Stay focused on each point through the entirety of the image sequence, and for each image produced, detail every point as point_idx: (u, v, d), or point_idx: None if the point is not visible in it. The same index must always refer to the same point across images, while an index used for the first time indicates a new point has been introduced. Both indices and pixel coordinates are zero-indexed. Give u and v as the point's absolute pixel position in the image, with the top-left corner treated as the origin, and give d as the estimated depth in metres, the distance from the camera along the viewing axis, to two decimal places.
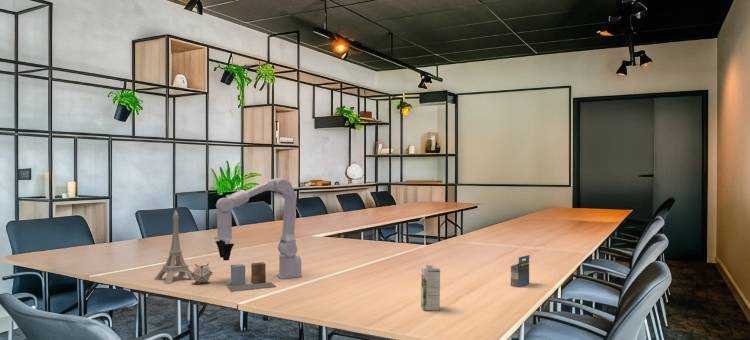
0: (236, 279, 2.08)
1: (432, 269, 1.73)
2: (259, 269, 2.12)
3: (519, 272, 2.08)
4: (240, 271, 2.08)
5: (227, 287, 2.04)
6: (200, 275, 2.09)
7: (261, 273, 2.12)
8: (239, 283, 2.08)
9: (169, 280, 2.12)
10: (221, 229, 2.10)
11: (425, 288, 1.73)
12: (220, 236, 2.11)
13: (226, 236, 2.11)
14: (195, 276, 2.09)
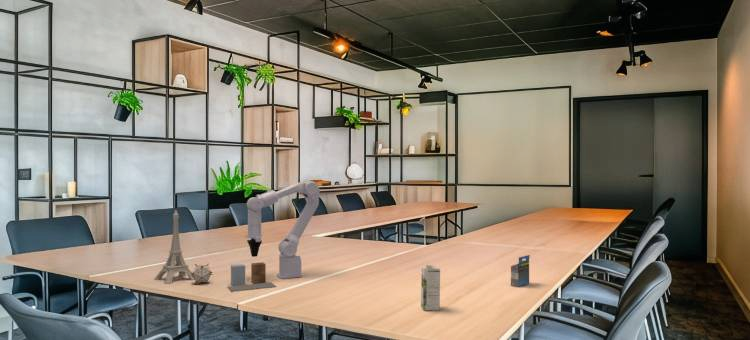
0: (236, 279, 2.08)
1: (432, 269, 1.73)
2: (259, 269, 2.12)
3: (519, 272, 2.08)
4: (240, 271, 2.08)
5: (227, 287, 2.04)
6: (200, 275, 2.09)
7: (261, 273, 2.12)
8: (239, 283, 2.08)
9: (169, 280, 2.12)
10: (252, 227, 2.17)
11: (425, 288, 1.73)
12: (250, 234, 2.17)
13: (256, 234, 2.18)
14: (195, 276, 2.09)
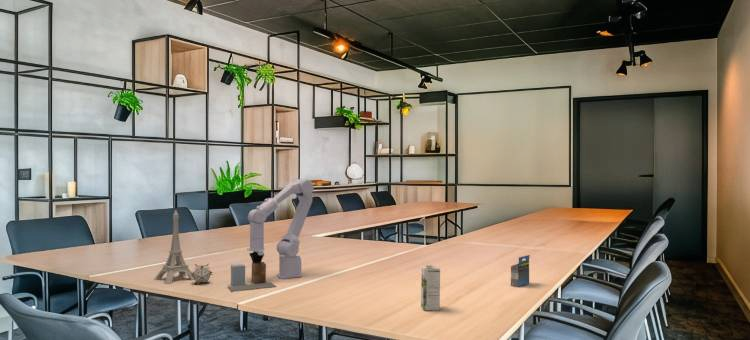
0: (236, 279, 2.08)
1: (432, 269, 1.73)
2: (259, 269, 2.12)
3: (519, 272, 2.08)
4: (240, 271, 2.08)
5: (227, 287, 2.04)
6: (200, 275, 2.09)
7: (261, 273, 2.12)
8: (239, 283, 2.08)
9: (169, 280, 2.12)
10: (254, 240, 2.14)
11: (425, 288, 1.73)
12: (253, 247, 2.14)
13: (259, 247, 2.14)
14: (195, 276, 2.09)
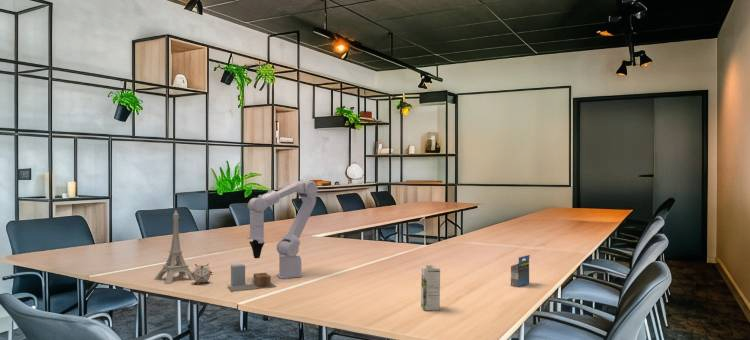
0: (236, 279, 2.08)
1: (432, 269, 1.73)
2: None
3: (519, 272, 2.08)
4: (240, 271, 2.08)
5: (227, 287, 2.04)
6: (200, 275, 2.09)
7: None
8: (239, 283, 2.08)
9: (169, 280, 2.12)
10: (254, 229, 2.14)
11: (425, 288, 1.73)
12: (253, 236, 2.14)
13: (259, 235, 2.14)
14: (195, 276, 2.09)
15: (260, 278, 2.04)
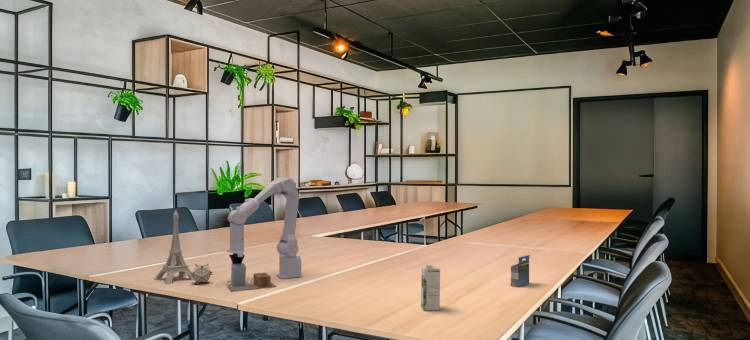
0: (236, 280, 2.07)
1: (432, 269, 1.73)
2: None
3: (519, 272, 2.08)
4: (241, 272, 2.08)
5: (227, 287, 2.04)
6: (200, 275, 2.09)
7: None
8: (239, 283, 2.08)
9: (169, 280, 2.12)
10: (234, 242, 2.09)
11: (425, 288, 1.73)
12: (232, 249, 2.09)
13: (239, 249, 2.10)
14: (195, 276, 2.09)
15: (260, 278, 2.04)
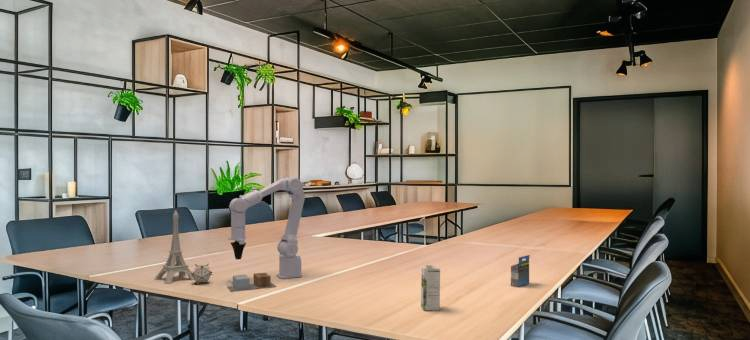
0: None
1: (432, 269, 1.73)
2: None
3: (519, 272, 2.08)
4: None
5: (227, 287, 2.04)
6: (200, 275, 2.09)
7: None
8: None
9: (169, 280, 2.12)
10: (235, 229, 2.11)
11: (425, 288, 1.73)
12: (234, 236, 2.11)
13: (240, 236, 2.11)
14: (195, 276, 2.09)
15: (260, 278, 2.04)
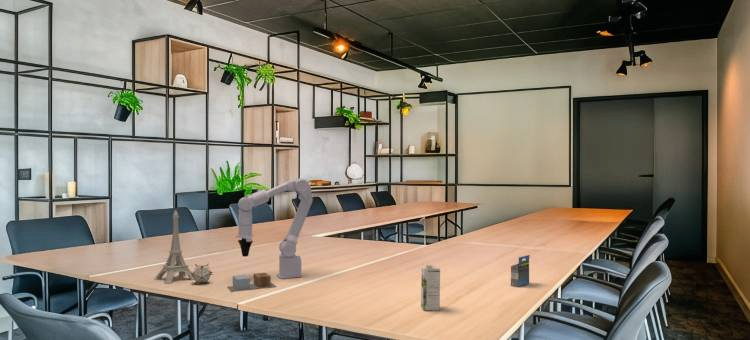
0: None
1: (432, 269, 1.73)
2: None
3: (519, 272, 2.08)
4: None
5: (227, 287, 2.04)
6: (200, 275, 2.09)
7: None
8: None
9: (169, 280, 2.12)
10: (242, 227, 2.17)
11: (425, 288, 1.73)
12: (241, 234, 2.17)
13: (247, 234, 2.18)
14: (195, 276, 2.09)
15: (260, 278, 2.04)
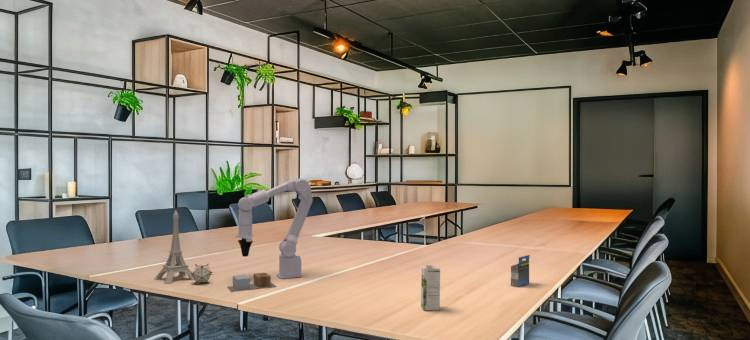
0: None
1: (432, 269, 1.73)
2: None
3: (519, 272, 2.08)
4: None
5: (227, 287, 2.04)
6: (200, 275, 2.09)
7: None
8: None
9: (169, 280, 2.12)
10: (242, 227, 2.17)
11: (425, 288, 1.73)
12: (241, 234, 2.17)
13: (247, 234, 2.18)
14: (195, 276, 2.09)
15: (260, 278, 2.04)
